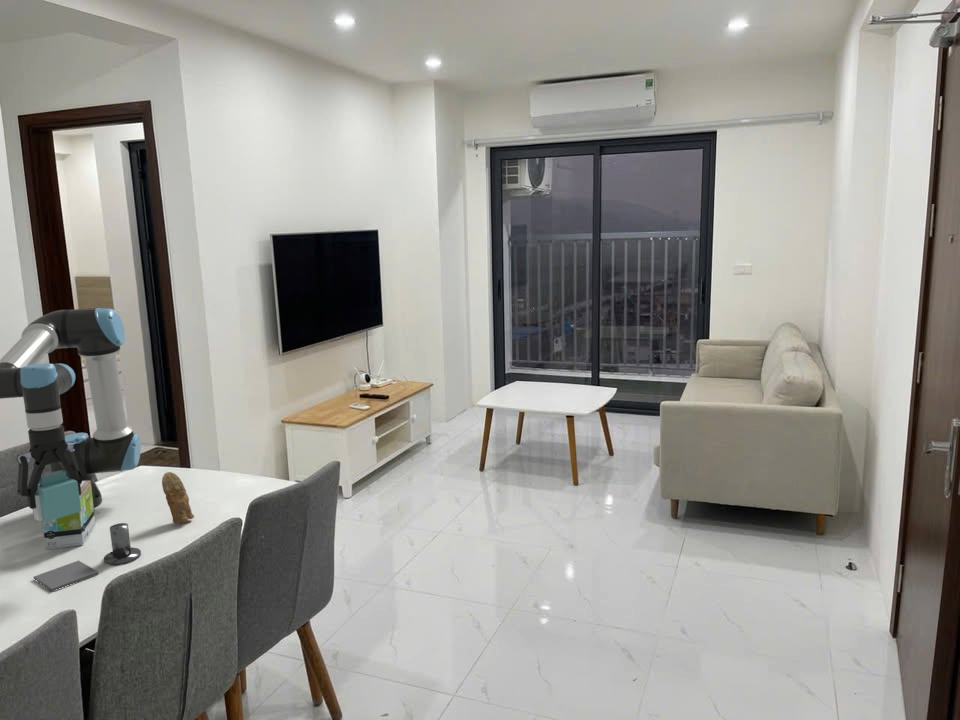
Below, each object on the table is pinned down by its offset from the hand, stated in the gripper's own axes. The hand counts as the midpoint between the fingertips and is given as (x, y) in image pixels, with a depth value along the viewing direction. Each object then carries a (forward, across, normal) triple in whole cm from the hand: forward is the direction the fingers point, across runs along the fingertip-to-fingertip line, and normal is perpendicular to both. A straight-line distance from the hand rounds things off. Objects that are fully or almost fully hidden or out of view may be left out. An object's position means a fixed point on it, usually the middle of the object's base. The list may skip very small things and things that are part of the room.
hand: (57, 513), depth 178 cm
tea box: (+17, -12, -25) cm, 33 cm away
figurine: (+17, -37, -10) cm, 42 cm away
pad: (+17, 0, 0) cm, 17 cm away
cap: (0, 0, 0) cm, 0 cm away
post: (+17, -14, +1) cm, 22 cm away
